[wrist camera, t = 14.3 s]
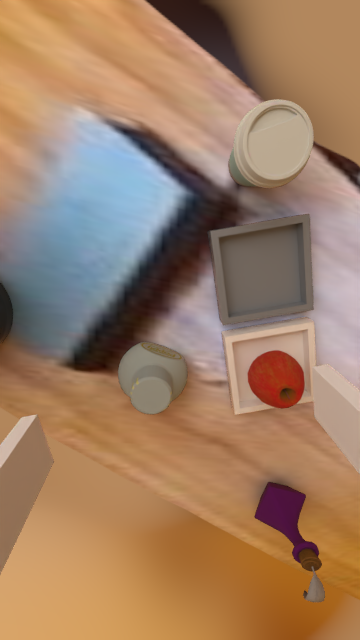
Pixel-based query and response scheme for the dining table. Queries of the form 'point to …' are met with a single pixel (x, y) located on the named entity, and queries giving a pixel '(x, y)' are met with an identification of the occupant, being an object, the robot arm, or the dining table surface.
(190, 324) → the dining table surface
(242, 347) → the beige square dish
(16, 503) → the robot arm
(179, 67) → the dining table surface
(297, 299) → the grey square tray
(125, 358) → the air freshener
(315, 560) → the perfume bottle
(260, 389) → the apple
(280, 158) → the coffee cup
